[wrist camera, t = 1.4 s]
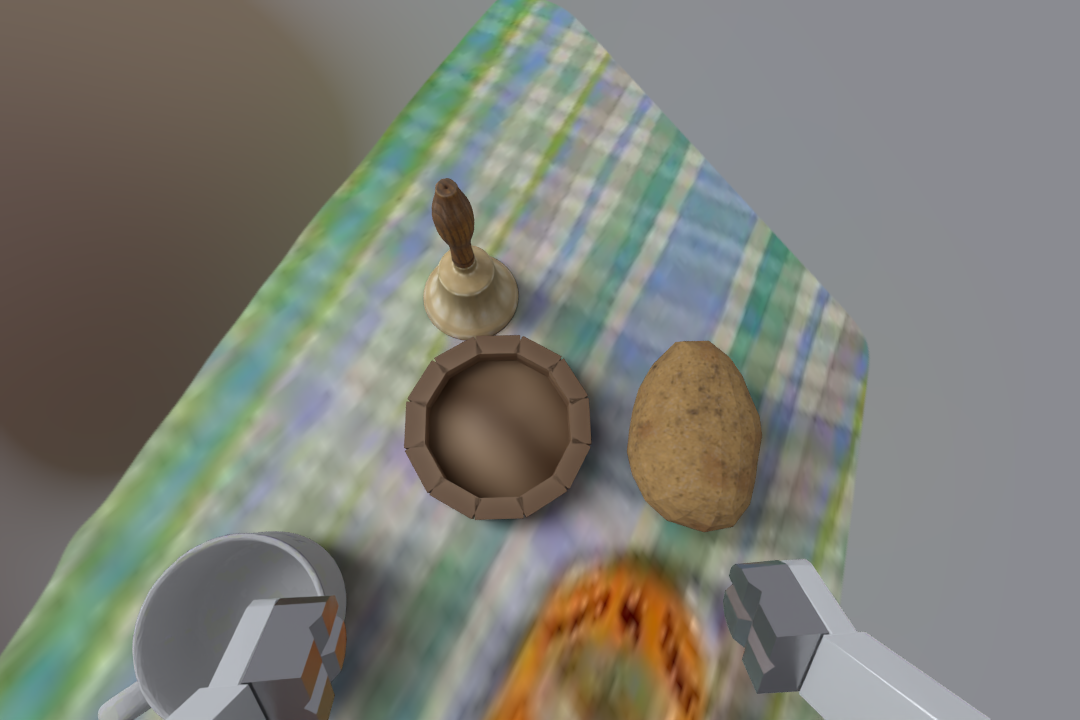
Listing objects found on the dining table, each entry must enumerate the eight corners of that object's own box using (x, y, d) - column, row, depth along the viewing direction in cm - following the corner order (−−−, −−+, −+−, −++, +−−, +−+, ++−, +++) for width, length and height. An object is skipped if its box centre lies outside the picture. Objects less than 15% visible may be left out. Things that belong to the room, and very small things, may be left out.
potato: (730, 363, 44) (776, 331, 36) (737, 533, 40) (790, 538, 32) (619, 353, 43) (641, 320, 36) (614, 524, 39) (639, 527, 32)
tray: (533, 552, 38) (535, 555, 35) (378, 463, 40) (368, 459, 37) (613, 395, 42) (620, 387, 39) (469, 319, 44) (466, 306, 41)
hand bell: (513, 345, 43) (512, 254, 28) (417, 335, 43) (363, 239, 28) (522, 258, 46) (526, 132, 30) (431, 249, 45) (389, 117, 30)
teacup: (336, 504, 39) (292, 503, 31) (383, 647, 36) (348, 684, 28) (149, 587, 36) (52, 607, 29) (186, 745, 34) (90, 814, 26)
